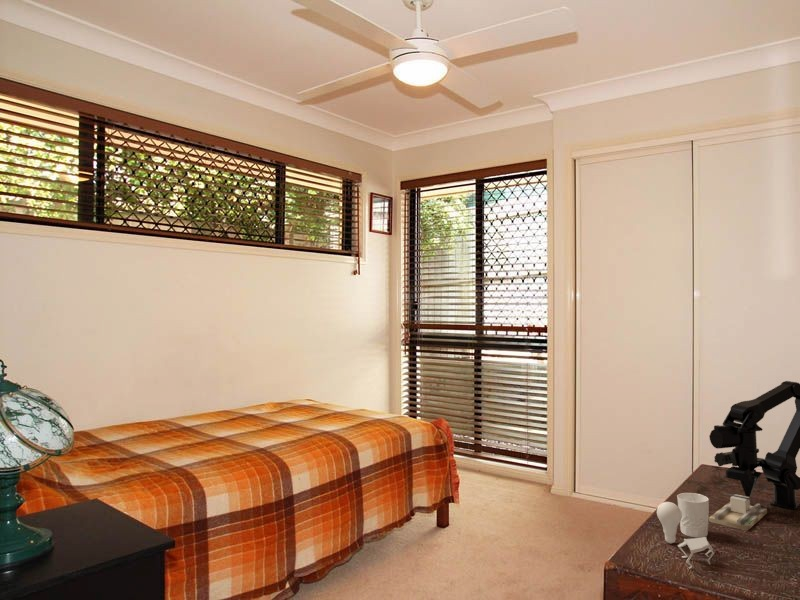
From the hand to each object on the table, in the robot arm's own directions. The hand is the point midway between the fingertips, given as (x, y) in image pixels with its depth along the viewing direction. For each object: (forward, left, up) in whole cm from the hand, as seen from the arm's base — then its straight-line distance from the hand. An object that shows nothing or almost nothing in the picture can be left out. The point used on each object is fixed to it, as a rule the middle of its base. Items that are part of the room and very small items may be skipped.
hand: (748, 496), depth 175 cm
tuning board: (+9, 0, -4) cm, 10 cm away
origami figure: (+47, +2, -4) cm, 48 cm away
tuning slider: (+7, 0, -3) cm, 8 cm away
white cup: (+29, -5, -4) cm, 30 cm away
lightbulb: (+40, -7, -4) cm, 41 cm away
